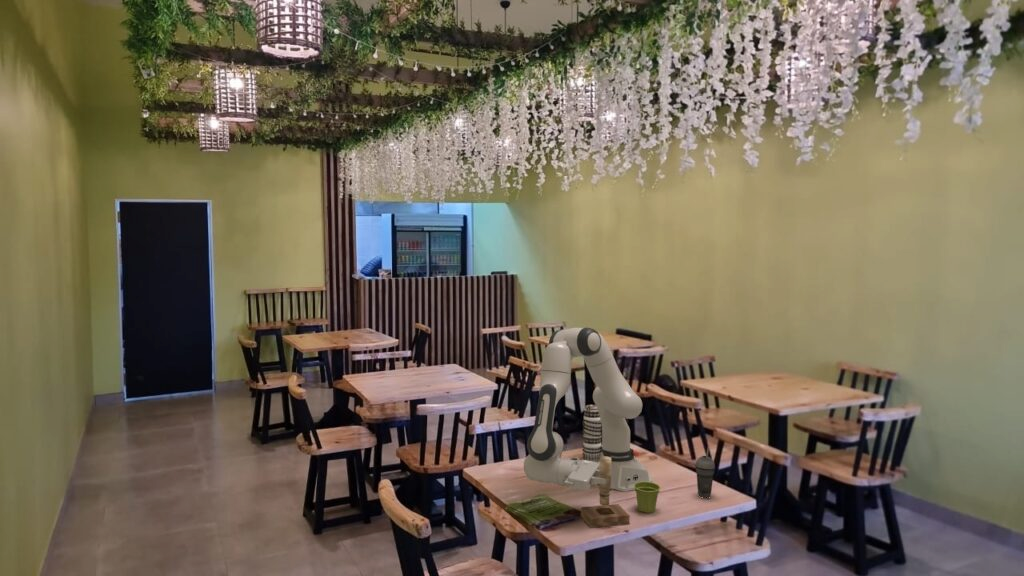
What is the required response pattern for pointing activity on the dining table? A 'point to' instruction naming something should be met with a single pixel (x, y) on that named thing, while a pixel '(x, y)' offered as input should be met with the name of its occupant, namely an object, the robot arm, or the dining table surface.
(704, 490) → the beverage cup
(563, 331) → the robot arm
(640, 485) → the plant pot
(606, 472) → the peg
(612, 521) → the brown wooden frame
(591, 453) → the decorative candle
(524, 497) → the dining table surface
